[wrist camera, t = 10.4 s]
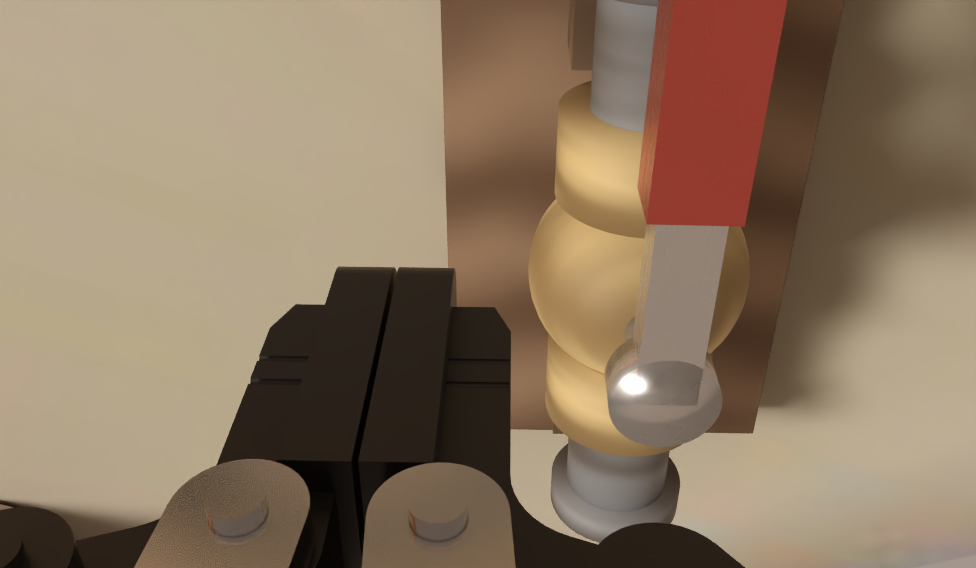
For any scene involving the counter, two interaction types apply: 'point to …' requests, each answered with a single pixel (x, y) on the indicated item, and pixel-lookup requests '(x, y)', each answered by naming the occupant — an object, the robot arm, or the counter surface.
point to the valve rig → (604, 223)
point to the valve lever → (691, 207)
